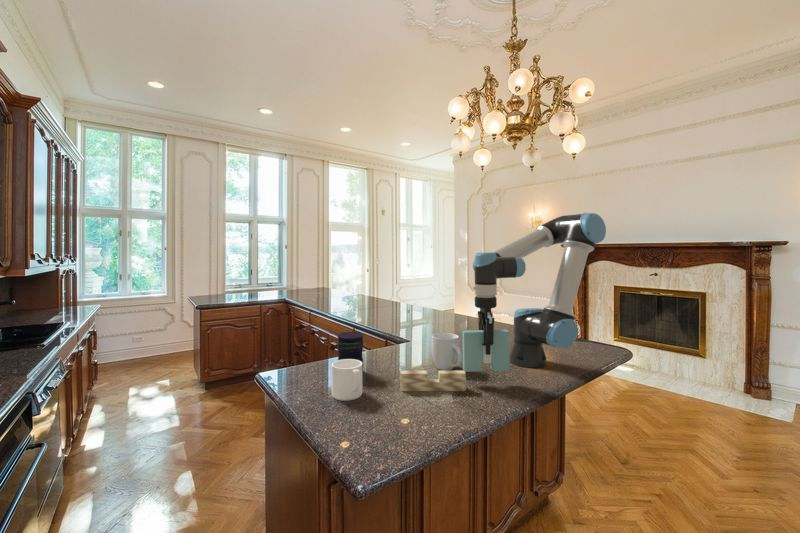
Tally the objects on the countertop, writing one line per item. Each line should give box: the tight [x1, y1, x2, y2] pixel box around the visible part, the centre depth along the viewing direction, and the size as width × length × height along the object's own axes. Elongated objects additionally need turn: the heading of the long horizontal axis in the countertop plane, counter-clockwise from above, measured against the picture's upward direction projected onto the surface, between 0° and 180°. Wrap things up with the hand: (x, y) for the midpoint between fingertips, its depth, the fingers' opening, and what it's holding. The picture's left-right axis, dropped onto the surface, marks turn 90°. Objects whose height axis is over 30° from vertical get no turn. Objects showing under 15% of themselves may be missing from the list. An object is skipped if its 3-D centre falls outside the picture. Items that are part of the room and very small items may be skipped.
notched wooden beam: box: [399, 369, 467, 392], centre depth 121 cm, size 22×3×6 cm, turn 91°
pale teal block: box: [462, 329, 510, 373], centre depth 126 cm, size 16×3×14 cm, turn 91°
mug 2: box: [430, 332, 463, 371], centre depth 141 cm, size 15×11×13 cm
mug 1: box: [331, 359, 363, 402], centre depth 115 cm, size 13×10×10 cm
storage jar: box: [336, 331, 364, 375], centre depth 136 cm, size 10×10×15 cm
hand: (485, 361), depth 126 cm, fingers closed on pale teal block, 3 cm apart
